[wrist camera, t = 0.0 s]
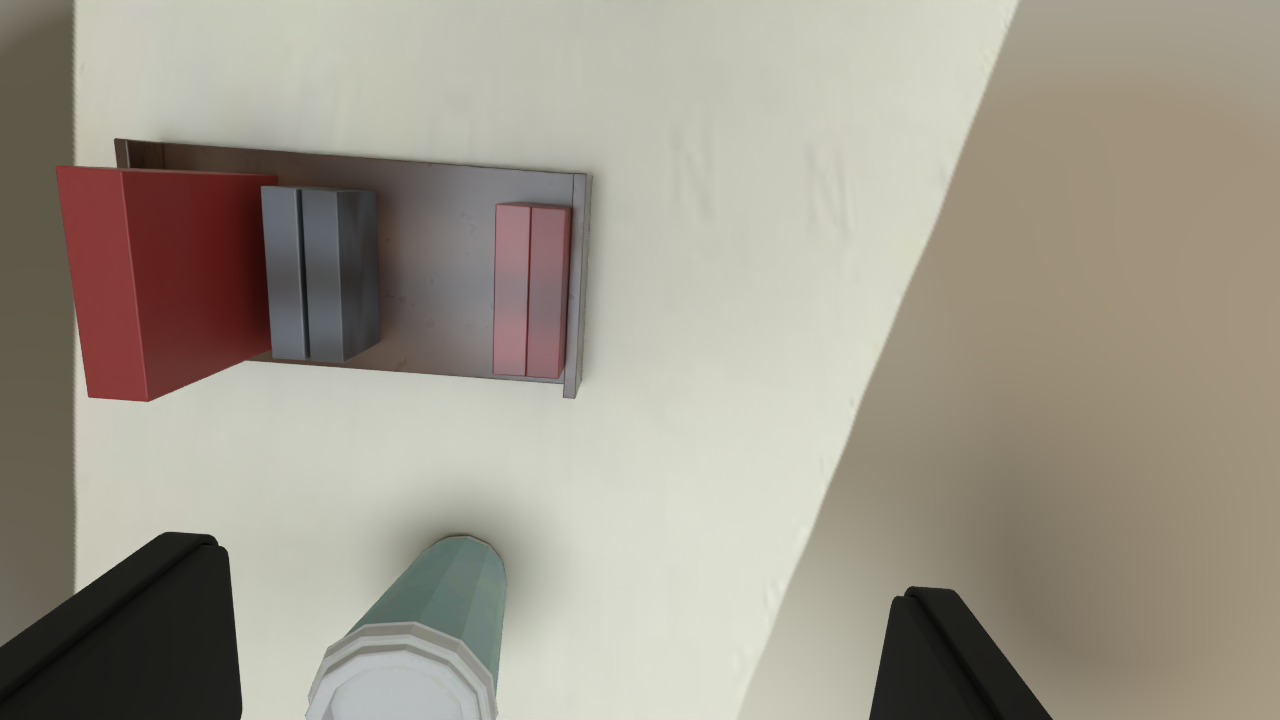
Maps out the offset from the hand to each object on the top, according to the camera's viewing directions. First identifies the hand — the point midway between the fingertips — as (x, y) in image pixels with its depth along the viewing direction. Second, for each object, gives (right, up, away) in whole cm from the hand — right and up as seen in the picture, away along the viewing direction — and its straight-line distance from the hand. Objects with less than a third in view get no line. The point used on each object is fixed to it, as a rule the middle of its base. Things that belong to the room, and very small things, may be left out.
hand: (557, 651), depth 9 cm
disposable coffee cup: (-12, -12, +42) cm, 45 cm away
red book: (-24, +11, +35) cm, 43 cm away
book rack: (-16, +10, +36) cm, 41 cm away
